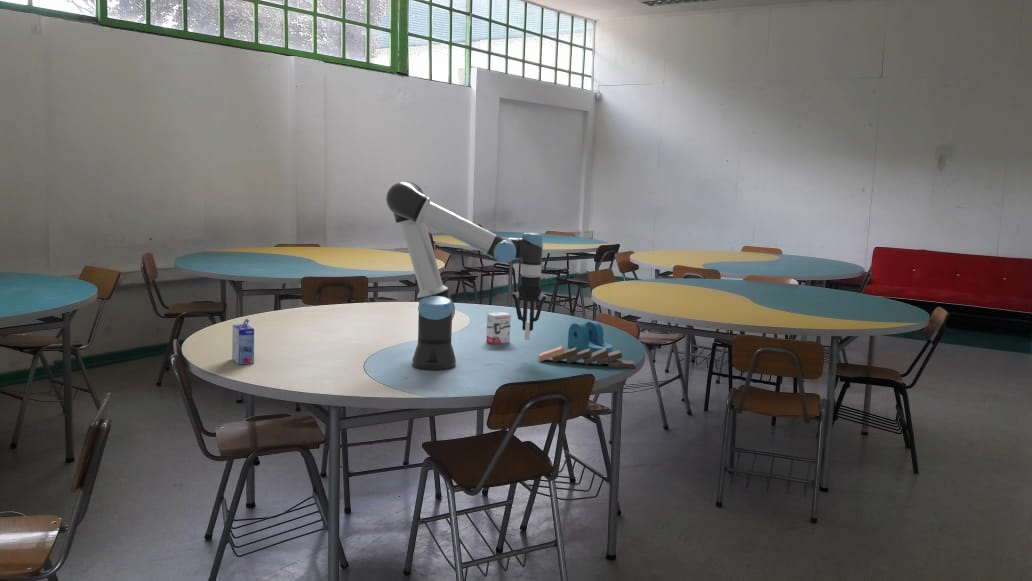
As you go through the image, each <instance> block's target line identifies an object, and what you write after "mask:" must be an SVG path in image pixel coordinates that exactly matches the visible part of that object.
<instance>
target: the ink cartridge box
mask: <svg viewBox="0 0 1032 581" xmlns="http://www.w3.org/2000/svg"><path fill="white" fill-rule="evenodd" d="M249 322H250V320H249V319H248V318H245V319H244V321H243V323H241V324H240V323H239V324H232V339H231V342H232V345H231V349H232V350H231V359H232V360H233V361H234V362H235V363H236V364H237V365H253V364H254V363H255V328H254V327H252V326H251V325H249V324H248V323H249Z"/></svg>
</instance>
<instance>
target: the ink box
mask: <svg viewBox="0 0 1032 581" xmlns="http://www.w3.org/2000/svg"><path fill="white" fill-rule="evenodd" d="M511 318H512V314H510V313H508V312H506V311H505V312H504V311H500V312H499V311H498V312H489V313H487V314H486V341H485V342H486V343H488V344H491V345H497V344H498V343H499V344H506V343H507V344H508V343H510V342H511Z"/></svg>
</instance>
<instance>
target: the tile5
mask: <svg viewBox="0 0 1032 581" xmlns="http://www.w3.org/2000/svg"><path fill="white" fill-rule="evenodd" d="M608 355H609V356H606V357H604V358H602V359H599V360H597V361H596V363H597V365H598V366H601V365H602V366H603V365H604V364H605V365H606V364H607V363H608V362H611V361H614V360H621V359H622V358H623V355H622V352H621V351H620V350H619V349H617V350H613V351H612V352H611V353H608Z"/></svg>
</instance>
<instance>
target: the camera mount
mask: <svg viewBox="0 0 1032 581" xmlns="http://www.w3.org/2000/svg"><path fill="white" fill-rule="evenodd" d="M567 334H568V335H567V348H569V349H571V348H574V347H577V350H578V352H580V351H583V350H586V349H589V348H590V349H591V351H592V353H594V352H596V351H598V350H601V349H603V348H606V350H607V352H608V353H611V352H613V345H612V344H611V343H607V342H605V341H604V328H603V326H602V324H601V323H600V322H599V321H587V322H586V323H584V322H575V323H572V324H571V325H570V326H569V328H568V332H567Z"/></svg>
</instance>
